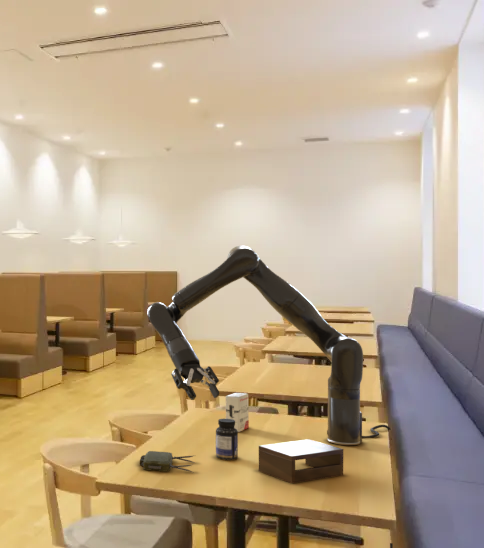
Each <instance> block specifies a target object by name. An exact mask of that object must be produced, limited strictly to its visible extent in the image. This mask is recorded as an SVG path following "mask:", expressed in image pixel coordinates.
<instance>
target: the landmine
mask: <svg viewBox="0 0 484 548" xmlns="http://www.w3.org/2000/svg"><path fill="white" fill-rule="evenodd" d="M193 457H196V455H185V456H184V455H183V456H173V453H172V452H169V451H156V450H148V451H147V452H146V453H145V454H142V455H141V457H140V459H139V466H141V467H143V470H144V471H158V472H169V471H170V470H171V469H177V470H181V471H185V472H189V473H192V474H193V473H195V472H194V471H192V470H189V469H187V467H191V466H193V464H183V465H182V464H181V465H173V460H179V461H184V462H188V463H194V464H196V462H194V461H192V460H190V459H188V458H193ZM185 467H186V468H185Z"/></svg>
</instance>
